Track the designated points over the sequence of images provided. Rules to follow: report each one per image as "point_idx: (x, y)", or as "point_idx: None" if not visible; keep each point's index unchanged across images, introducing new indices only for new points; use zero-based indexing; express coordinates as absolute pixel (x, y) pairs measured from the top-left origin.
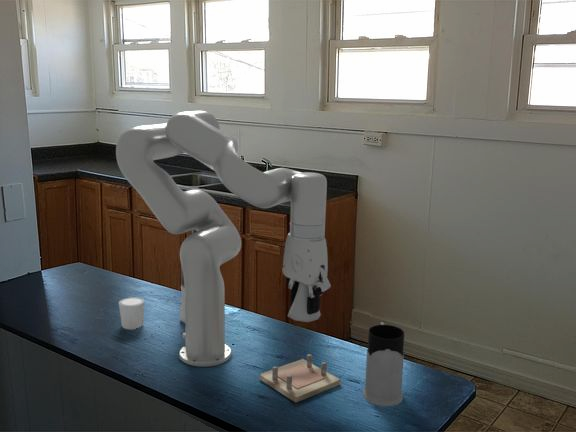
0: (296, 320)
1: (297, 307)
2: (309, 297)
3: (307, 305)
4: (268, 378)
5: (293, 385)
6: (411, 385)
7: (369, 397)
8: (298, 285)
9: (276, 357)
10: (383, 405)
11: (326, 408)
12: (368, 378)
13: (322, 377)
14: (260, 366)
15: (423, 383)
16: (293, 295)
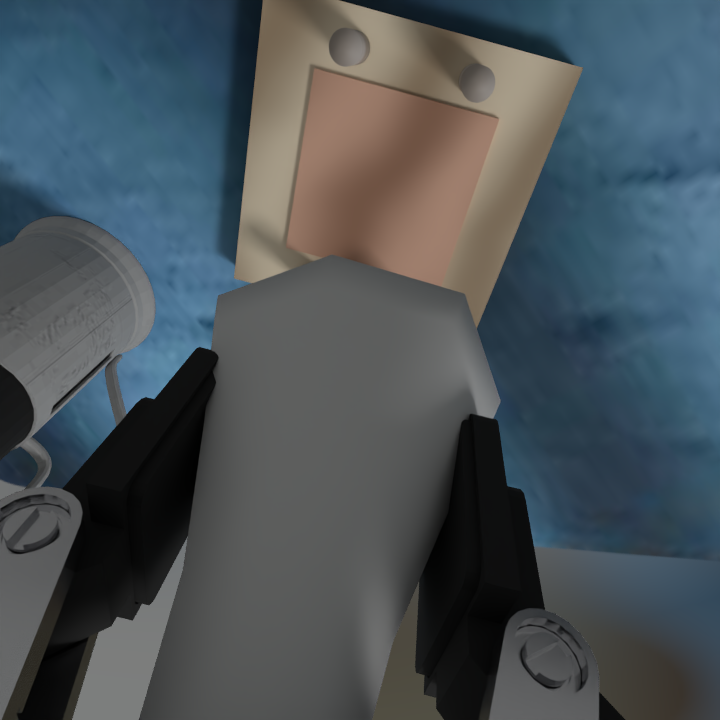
0: (321, 258)
1: (322, 363)
2: (89, 492)
3: (176, 406)
4: (509, 61)
5: (349, 82)
6: (80, 400)
7: (71, 230)
8: (452, 712)
9: (606, 313)
10: (25, 227)
11: (142, 48)
12: (36, 266)
13: (294, 244)
14: (639, 192)
15: (68, 428)
16: (462, 525)
